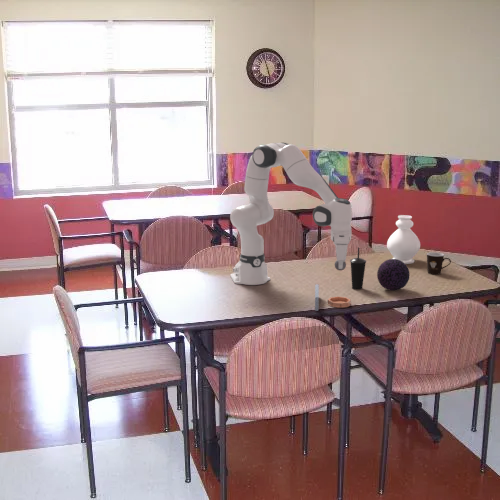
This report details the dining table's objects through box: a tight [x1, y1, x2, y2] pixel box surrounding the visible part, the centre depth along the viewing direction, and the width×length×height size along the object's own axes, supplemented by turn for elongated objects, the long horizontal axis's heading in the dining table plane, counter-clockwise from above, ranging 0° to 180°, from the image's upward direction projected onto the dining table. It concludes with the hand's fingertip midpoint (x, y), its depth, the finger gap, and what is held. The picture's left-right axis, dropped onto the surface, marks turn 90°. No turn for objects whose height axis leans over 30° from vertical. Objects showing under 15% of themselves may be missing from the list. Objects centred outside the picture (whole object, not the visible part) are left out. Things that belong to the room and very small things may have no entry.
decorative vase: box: [386, 214, 421, 265], centre depth 385 cm, size 18×18×25 cm
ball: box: [334, 260, 347, 271], centre depth 308 cm, size 5×5×5 cm
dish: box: [327, 295, 352, 309], centre depth 313 cm, size 10×10×2 cm
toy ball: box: [376, 258, 411, 292], centre depth 332 cm, size 15×15×15 cm
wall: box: [314, 283, 320, 312], centre depth 313 cm, size 20×2×6 cm, turn 175°
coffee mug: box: [426, 251, 452, 276], centre depth 361 cm, size 12×9×10 cm
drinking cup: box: [349, 247, 367, 291], centre depth 335 cm, size 8×8×20 cm
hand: (340, 266), depth 309 cm, fingers closed on ball, 5 cm apart
